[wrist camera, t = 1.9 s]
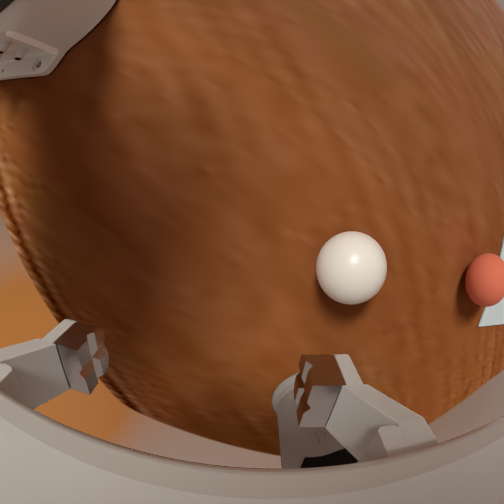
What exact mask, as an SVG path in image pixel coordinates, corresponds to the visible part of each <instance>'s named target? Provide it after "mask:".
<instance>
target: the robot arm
mask: <svg viewBox="0 0 504 504" xmlns="http://www.w3.org/2000/svg"><path fill="white" fill-rule="evenodd" d="M115 2H116V0H0V81H1V80H8V79H15V78H24V77H35V76H46V75H48V74H50V73H51V72H52V71H53V70H54V68H55V67H56V66H57V65H58V63H59V62H60V60H61V59H62V58H63V56H64V55H65V53H66V52H67V51H68V50H69V49H70V48H71V47H72V46H73V45H74V44H76V43H77V42H78V41H79V40H81V39H82V38H83V37H84V36H85V35H86V34H88V33H89V32H90V31H91V30H92V29H93V28H94V27H95V26H96V25H97V24H98V23H99V22H100V21H101V20H102V18H103V17H104V16H105V15H106V14H107V13H108V11H109V10H110V9H111V7H112V6H113V5H114V3H115ZM105 340H106V338H105V333H104V330H103V329H102V328H100V327H96V326H92V325H89V324H85V323H81V322H77V321H74V320H70V319H64V320H63V321H62V322H61V323H60V324H58V325H57V326H56V327H55V328H54V329H53V330H51V331H50V332H49V333H48V334H47V335H46V336H45V337H44V338H43V339H39V338H38V339H34V340H31V341H27V342H23V343H20V344H16V345H12V346H9V347H5V348H1V349H0V504H504V416H503V417H501V418H499V419H497V420H495V421H493V422H491V423H488V424H486V425H484V426H482V427H480V428H478V429H475V430H473V431H470V432H468V433H466V434H463V435H461V436H458V437H456V438H453V439H450V440H447V441H444V442H441V443H438V442H437V440H436V438H435V436H434V435H433V433H432V431H431V429H430V428H429V426H428V424H427V423H426V421H425V419H424V418H423V417H422V416H420V415H418V414H416V413H415V412H413V411H411V410H410V409H408V408H406V407H404V406H403V405H401V404H399V403H398V402H396V401H394V400H393V399H391V398H389V397H388V396H386V395H384V394H383V393H381V392H379V391H378V390H376V389H374V388H373V387H371V386H370V385H368V384H365V385H363V382H362V380H361V378H360V376H359V374H358V372H357V370H356V368H355V366H354V364H353V362H352V360H351V358H350V356H349V355H347V354H332V355H302V356H301V358H300V362H299V368H300V373H298V374H297V375H296V378H295V383H294V401H295V403H296V404H297V405H298V408H297V412H296V413H297V419H298V425H299V427H325V428H326V429H327V430H328V431H329V432H330V433H331V434H332V435H333V436H334V437H335V438H336V439H337V440H338V441H339V442H340V443H341V444H342V445H343V446H344V447H345V448H346V449H347V450H348V451H349V452H350V453H351V454H352V455H353V456H354V457H355V458H356V459H357V460H358V462H357V463H352V464H345V465H337V466H327V467H314V468H295V469H260V468H258V469H257V468H240V467H227V466H218V465H208V464H202V463H195V462H189V461H183V460H177V459H172V458H167V457H163V456H158V455H154V454H150V453H145V452H141V451H137V450H134V449H131V448H127V447H124V446H120V445H117V444H114V443H111V442H108V441H105V440H102V439H99V438H96V437H94V436H91V435H88V434H86V433H83V432H81V431H78V430H76V429H73V428H71V427H69V426H66V425H64V424H62V423H60V422H57V421H55V420H53V419H51V418H49V417H47V416H45V415H43V414H41V413H39V412H37V411H35V410H33V409H35V408H36V407H38V406H40V405H42V404H44V403H46V402H48V401H49V400H51V399H53V398H55V397H57V396H59V395H60V394H62V393H64V392H66V391H67V390H69V389H70V388H71V389H74V390H77V391H80V392H83V393H86V394H89V395H90V394H91V393H92V391H93V390H94V388H95V386H96V385H97V384H98V380H97V377H100V376H102V375H104V373H105V372H106V370H107V367H108V363H109V354H108V350H107V348H106V347H105V346H104V344H103V343H104V341H105Z"/></svg>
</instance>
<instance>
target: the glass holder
mask: <svg viewBox="0 0 504 504" xmlns="http://www.w3.org/2000/svg"><path fill="white" fill-rule="evenodd" d="M297 374H298V373H297ZM297 374H294V375H292V376H290V377H289V378H287V379H286V380H284V381H283V382H282V383H281V384H280V385H279V386H278V387H277V388H276V390H275V391H274V393H273V396H272V406H273V409H274V410H275V412H276V413H277V419H278V430H279V442H280V453H281V465H282V469H295V468H314V467H327V466H337V465H345V464H352V463H357V462H358V460H357V459H356V458H355V457H354V456H353V455H352V454H351V453H350V452H349V451H348V450H347V449H346V448H345V447H344V446H343V445H342V444H341V443H340V442H339V441H338V440H337V439H336V438H335V437H334V436H333V435H332V434H331V433H330V432H329V431H328V430H327V429H326V428H325V427H299V425H298V419H297V413H296V412H297V408H298V405H297V404H296V403H295V401H294V383H295V378H296V375H297Z"/></svg>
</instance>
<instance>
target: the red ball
mask: <svg viewBox="0 0 504 504" xmlns="http://www.w3.org/2000/svg"><path fill="white" fill-rule="evenodd" d="M465 287H466V291H467V293H468V295H469V297H470V299H471V300H472V301H473V302H474V303H476V304H477V305H479V306H482V307H490V306H493V305H495V304H497V303H498V302H500V301H501V300H502V299H503V297H504V261H503V260H502V259H501V258H500V257H499V256H497V255H495V254H491V253H485V254H482V255H479V256H478V257H476V258H475V259H474V260H473V261H472V262H471V263H470V265H469V267H468V269H467V272H466V276H465Z"/></svg>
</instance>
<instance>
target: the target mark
mask: <svg viewBox="0 0 504 504" xmlns="http://www.w3.org/2000/svg"><path fill="white" fill-rule="evenodd" d="M500 258H501V259H502V260H503V261H504V238H503V243H502V248H501V252H500ZM500 324H504V297H503V299H502V300H501V301H500V302H498V303H497V304H495V305H493V306H490V307H485V308H484V311H483V314H482V316H481V319H480V322H479V324H478V327H480V326H491V325H500Z"/></svg>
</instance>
